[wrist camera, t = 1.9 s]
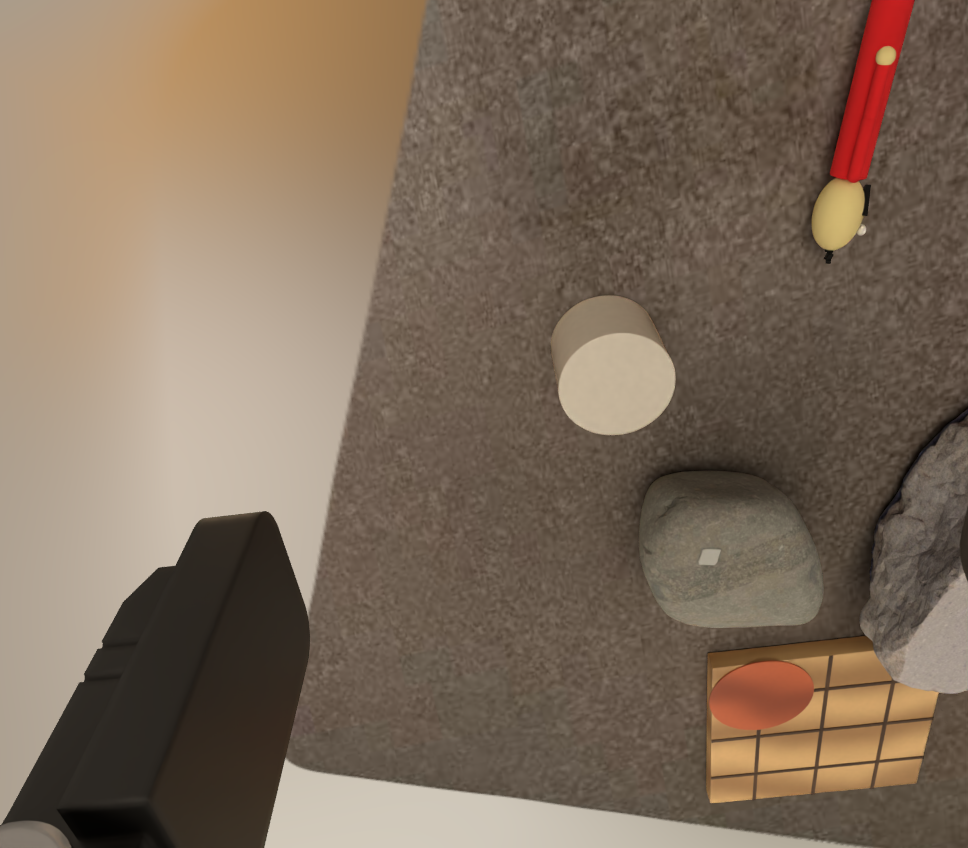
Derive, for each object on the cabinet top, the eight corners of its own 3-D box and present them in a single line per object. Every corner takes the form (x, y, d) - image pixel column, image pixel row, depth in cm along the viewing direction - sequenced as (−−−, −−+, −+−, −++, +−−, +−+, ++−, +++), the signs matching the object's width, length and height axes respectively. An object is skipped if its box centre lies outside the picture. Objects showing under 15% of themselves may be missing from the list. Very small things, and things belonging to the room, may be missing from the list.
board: (704, 651, 48) (709, 667, 47) (941, 624, 47) (953, 641, 46) (702, 787, 55) (707, 805, 54) (908, 767, 54) (917, 784, 53)
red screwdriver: (961, -174, 26) (845, 253, 34) (894, -174, 26) (795, 251, 35) (993, -182, 24) (861, 276, 32) (920, -182, 24) (808, 273, 32)
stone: (627, 613, 46) (660, 684, 36) (612, 463, 45) (642, 493, 35) (782, 598, 45) (859, 665, 35) (769, 447, 45) (844, 471, 35)
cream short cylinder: (544, 303, 35) (552, 342, 32) (655, 287, 35) (675, 325, 32) (555, 397, 38) (563, 442, 35) (658, 383, 38) (676, 427, 34)
